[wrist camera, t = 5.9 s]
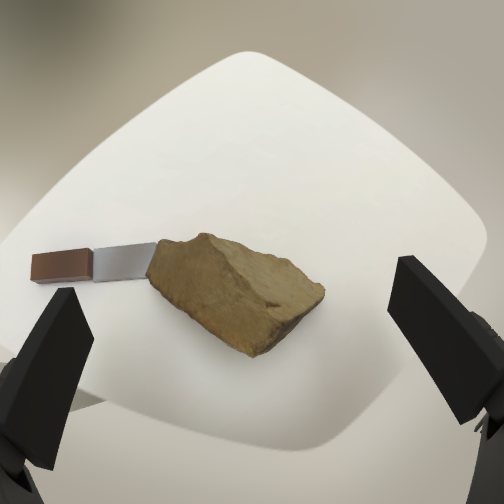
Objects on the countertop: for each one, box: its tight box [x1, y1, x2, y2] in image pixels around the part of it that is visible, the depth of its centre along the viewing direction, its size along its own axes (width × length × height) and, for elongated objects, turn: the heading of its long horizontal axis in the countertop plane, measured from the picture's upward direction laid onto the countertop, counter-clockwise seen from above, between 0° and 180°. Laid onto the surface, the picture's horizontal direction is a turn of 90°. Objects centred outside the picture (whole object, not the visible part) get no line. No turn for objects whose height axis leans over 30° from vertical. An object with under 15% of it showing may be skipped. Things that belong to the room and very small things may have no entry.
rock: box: [145, 233, 325, 358], centre depth 18 cm, size 11×9×10 cm
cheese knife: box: [30, 242, 156, 284], centre depth 20 cm, size 10×2×1 cm, turn 97°
